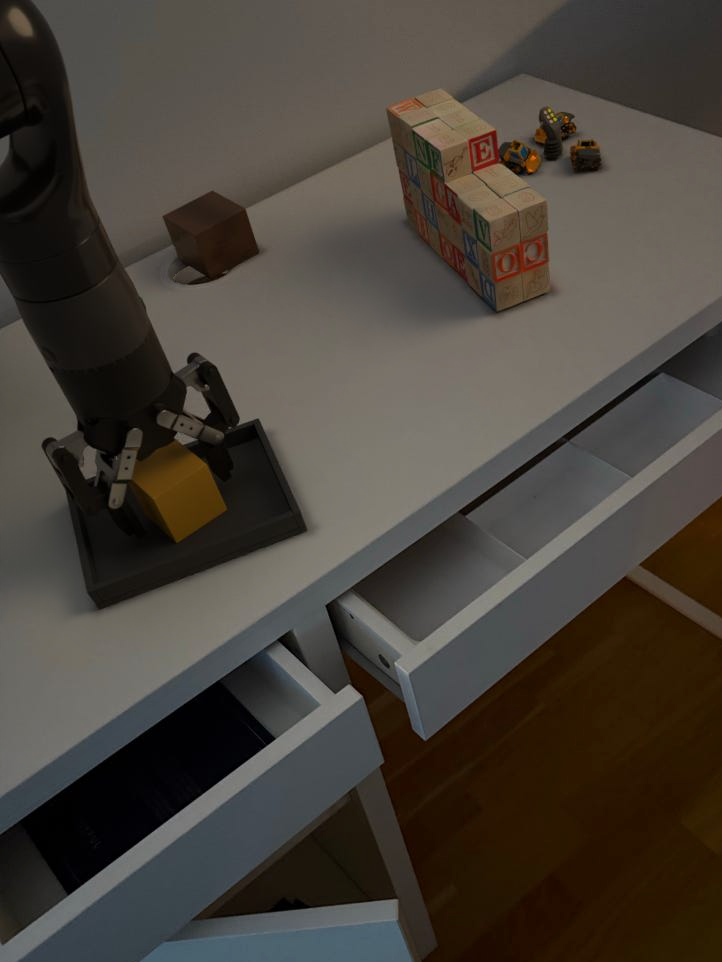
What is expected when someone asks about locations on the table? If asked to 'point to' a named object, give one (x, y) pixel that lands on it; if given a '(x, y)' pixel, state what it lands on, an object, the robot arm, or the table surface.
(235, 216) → the base block
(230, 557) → the tray
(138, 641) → the table surface
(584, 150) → the toy set
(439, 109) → the stack of blocks
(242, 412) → the table surface
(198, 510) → the top cube
